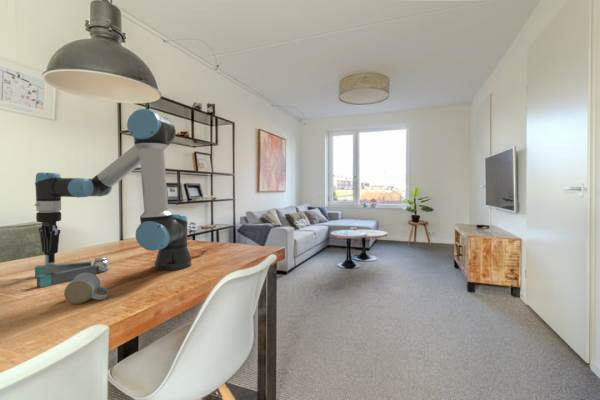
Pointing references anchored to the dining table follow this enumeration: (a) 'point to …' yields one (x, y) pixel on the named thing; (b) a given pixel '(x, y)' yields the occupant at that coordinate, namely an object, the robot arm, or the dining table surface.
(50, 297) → the dining table surface
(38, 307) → the dining table surface
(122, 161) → the robot arm
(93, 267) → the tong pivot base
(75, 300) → the ceramic mug
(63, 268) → the tong swing arm
